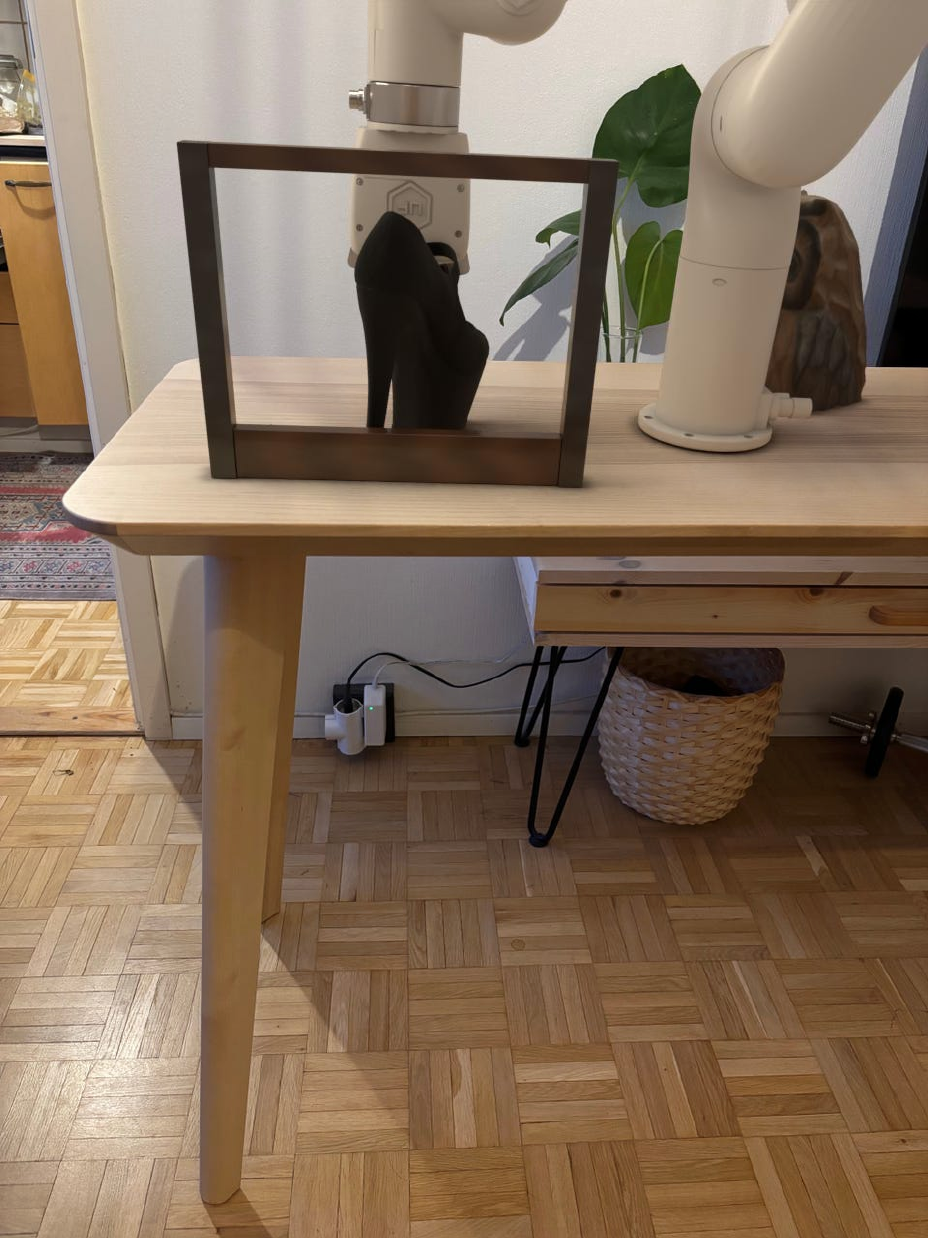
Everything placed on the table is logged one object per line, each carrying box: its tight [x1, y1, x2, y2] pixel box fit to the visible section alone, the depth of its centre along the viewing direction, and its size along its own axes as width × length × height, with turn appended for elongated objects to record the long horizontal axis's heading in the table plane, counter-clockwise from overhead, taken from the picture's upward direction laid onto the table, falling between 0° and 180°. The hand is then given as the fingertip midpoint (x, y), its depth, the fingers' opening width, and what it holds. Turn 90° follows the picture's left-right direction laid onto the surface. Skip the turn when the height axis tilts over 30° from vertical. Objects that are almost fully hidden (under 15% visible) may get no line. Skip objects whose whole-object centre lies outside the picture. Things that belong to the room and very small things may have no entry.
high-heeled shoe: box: [353, 211, 491, 430], centre depth 78 cm, size 8×19×20 cm, turn 153°
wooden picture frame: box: [176, 139, 620, 488], centre depth 69 cm, size 30×2×24 cm, turn 92°
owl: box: [764, 189, 868, 413], centre depth 96 cm, size 13×13×20 cm
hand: (406, 338), depth 84 cm, fingers closed
